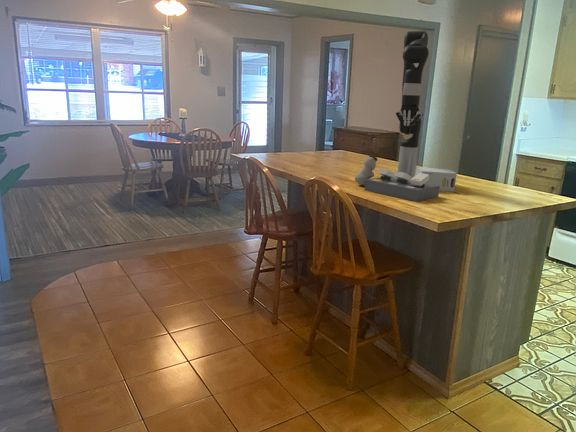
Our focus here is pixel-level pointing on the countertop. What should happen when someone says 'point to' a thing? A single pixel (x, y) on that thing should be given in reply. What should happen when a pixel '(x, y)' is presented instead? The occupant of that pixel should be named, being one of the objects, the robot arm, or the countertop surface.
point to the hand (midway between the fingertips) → (407, 134)
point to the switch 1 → (385, 172)
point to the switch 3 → (419, 179)
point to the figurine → (366, 170)
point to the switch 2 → (402, 175)
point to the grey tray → (401, 188)
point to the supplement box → (440, 177)
